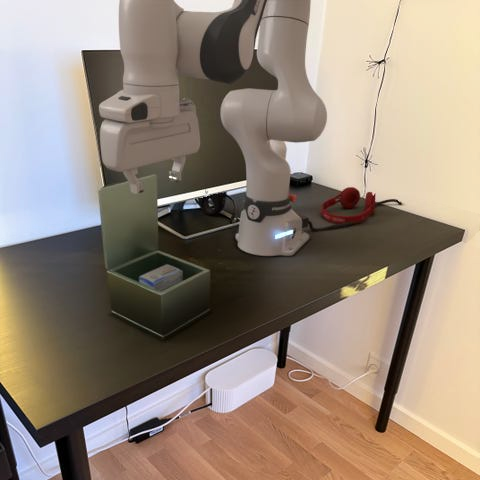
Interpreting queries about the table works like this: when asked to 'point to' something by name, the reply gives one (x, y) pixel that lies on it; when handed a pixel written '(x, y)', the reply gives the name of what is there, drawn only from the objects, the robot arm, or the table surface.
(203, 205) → the controller
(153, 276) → the medicine box
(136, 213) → the lid
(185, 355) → the table surface
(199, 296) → the green hollow box
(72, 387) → the table surface
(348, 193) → the headphones
